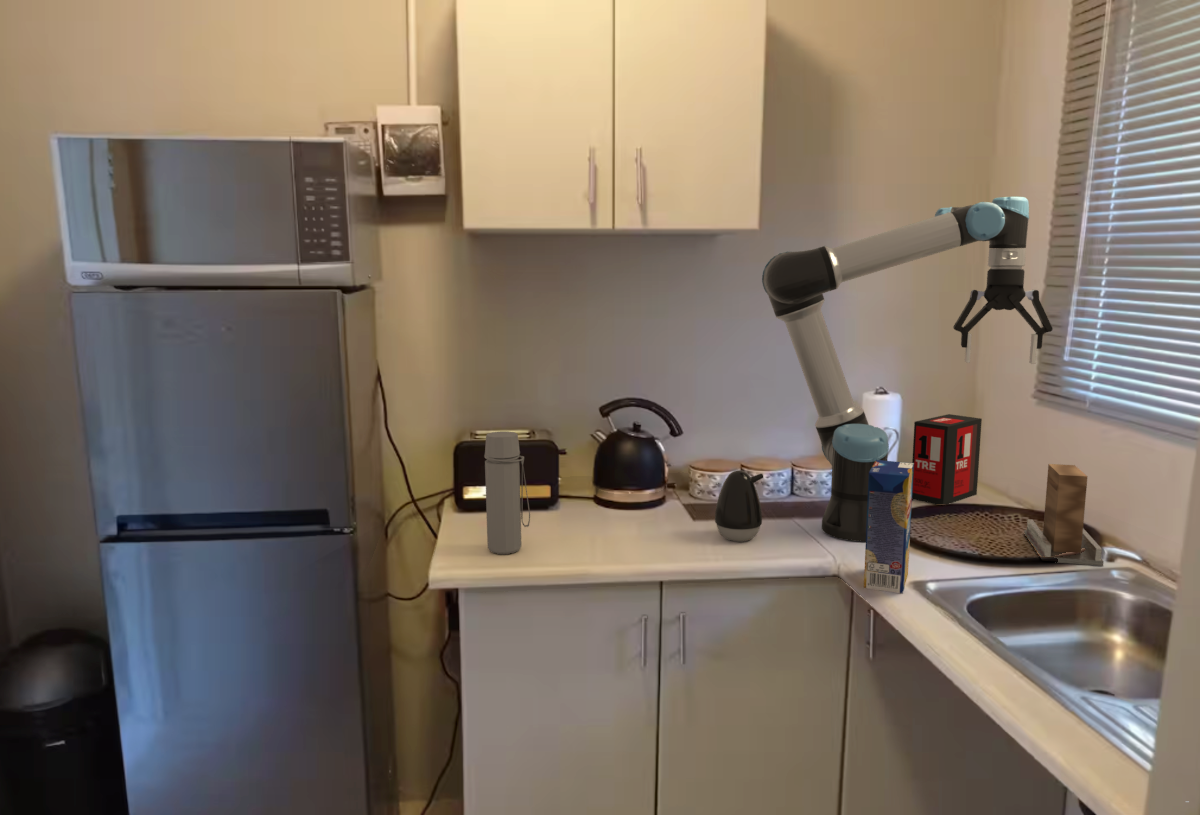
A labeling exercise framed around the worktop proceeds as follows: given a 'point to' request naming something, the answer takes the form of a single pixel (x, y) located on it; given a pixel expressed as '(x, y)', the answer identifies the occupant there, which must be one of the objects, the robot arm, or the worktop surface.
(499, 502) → the water bottle
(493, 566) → the worktop surface
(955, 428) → the cleaning product box
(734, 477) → the pump dispenser
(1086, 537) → the floor track
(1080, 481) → the brown wooden block
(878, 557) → the beverage box
